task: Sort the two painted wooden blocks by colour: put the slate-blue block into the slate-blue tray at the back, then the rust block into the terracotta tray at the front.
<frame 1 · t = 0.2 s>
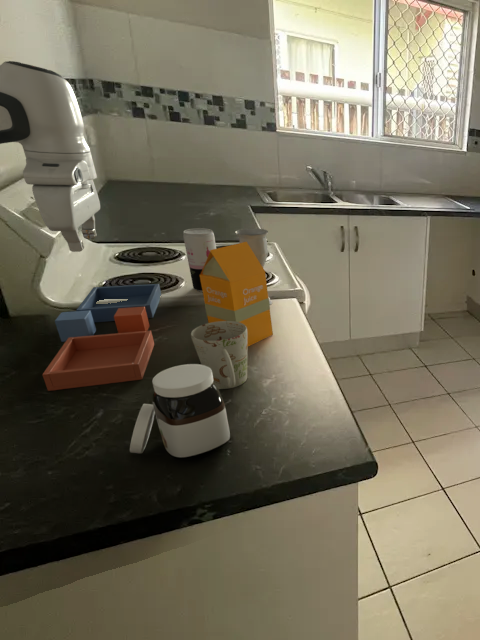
hand: (84, 244, 90), 18 cm above the worktop, tool pointing down, fingers open, 8 cm apart
rust block: (134, 331, 99), on the worktop
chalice: (261, 304, 118), on the worktop
orange juice: (243, 339, 101), on the worktop
spread jar: (182, 448, 69), on the worktop
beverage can: (208, 288, 124), on the worktop
blue block: (79, 336, 95), on the worktop
mug: (231, 386, 84), on the worktop
blue tray: (124, 308, 108), on the worktop
rust tray: (106, 365, 86), on the worktop
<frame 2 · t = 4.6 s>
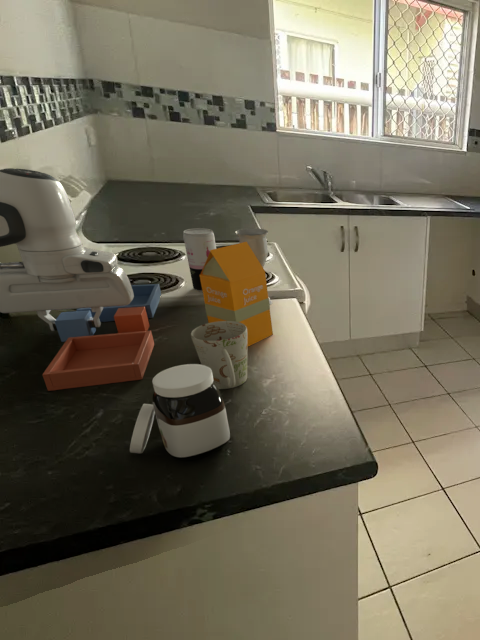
hand: (77, 328, 94), 2 cm above the worktop, tool pointing down, fingers closed on blue block, 4 cm apart
blue block: (79, 336, 95), on the worktop, touching gripper
everything else where it was.
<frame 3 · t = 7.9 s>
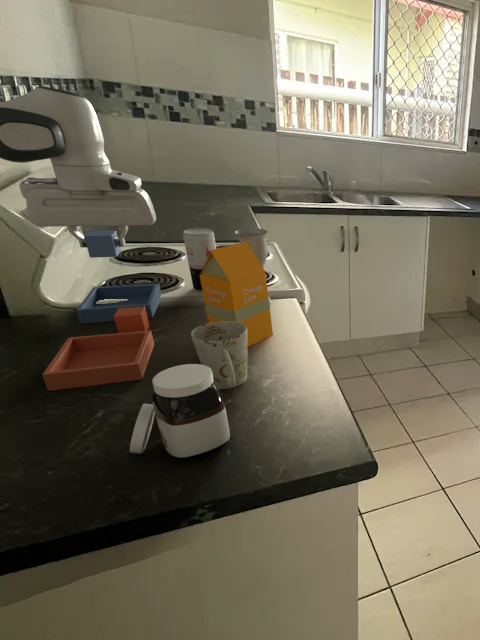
hand: (104, 246, 101), 15 cm above the worktop, tool pointing down, fingers closed on blue block, 4 cm apart
blue block: (106, 254, 102), point 13 cm above the worktop, touching gripper
everything else where it was.
when the fingers open (2 cm above the worktop, at t = 11.1 s): blue block stays where it is, resting on blue tray.
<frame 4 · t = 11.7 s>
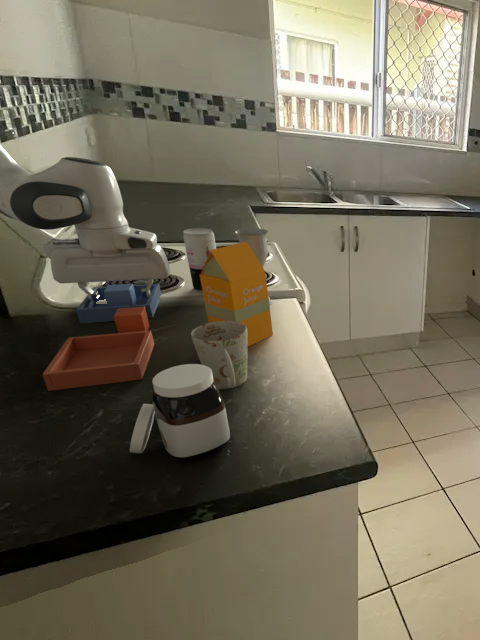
hand: (121, 298, 107), 2 cm above the worktop, tool pointing down, fingers open, 8 cm apart
blue block: (123, 306, 108), point 1 cm above the worktop, touching blue tray
everything else where it was.
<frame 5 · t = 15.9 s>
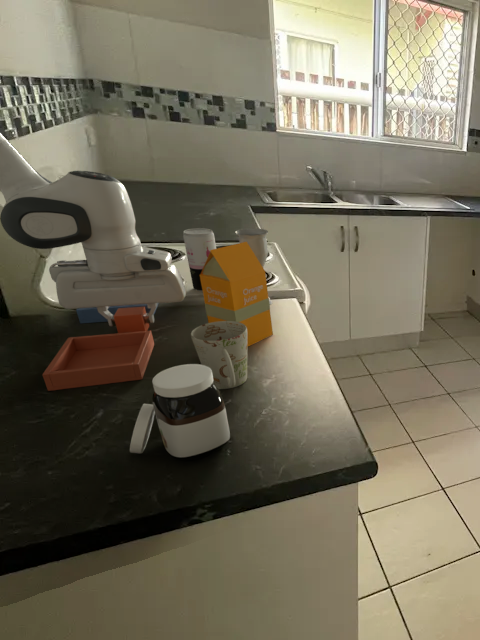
hand: (133, 323, 98), 2 cm above the worktop, tool pointing down, fingers closed on rust block, 4 cm apart
rust block: (134, 331, 99), on the worktop, touching gripper
everything else where it was.
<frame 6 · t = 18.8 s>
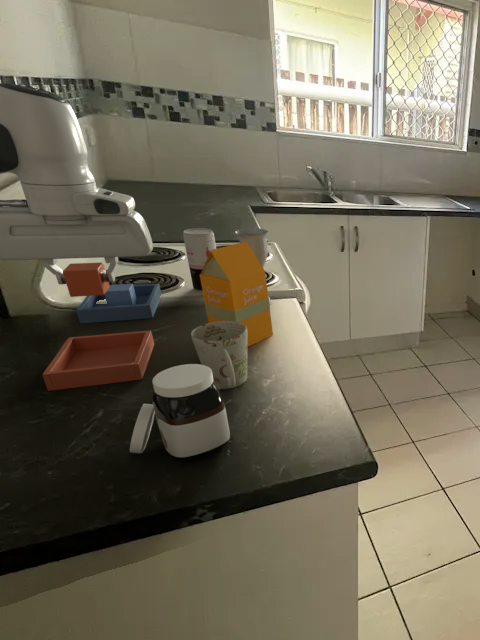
hand: (88, 282, 81), 15 cm above the worktop, tool pointing down, fingers closed on rust block, 4 cm apart
rust block: (90, 291, 82), point 13 cm above the worktop, touching gripper
everything else where it was.
when the fingers open (2 cm above the worktop, at t = 22.2 s): rust block stays where it is, resting on rust tray.
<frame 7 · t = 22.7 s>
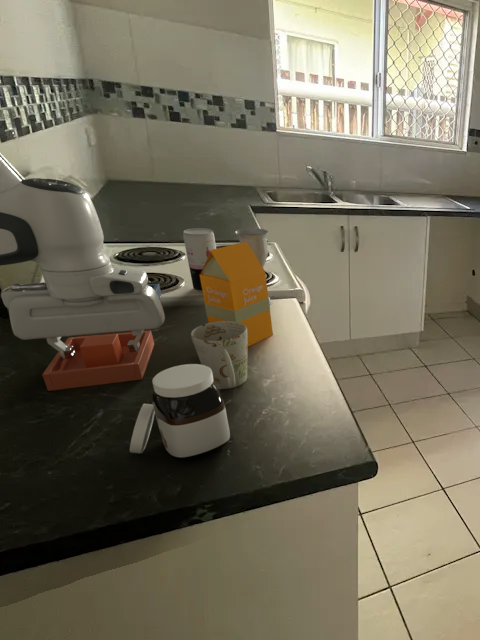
hand: (103, 354, 85), 2 cm above the worktop, tool pointing down, fingers open, 8 cm apart
rust block: (105, 362, 86), point 1 cm above the worktop, touching rust tray
everything else where it was.
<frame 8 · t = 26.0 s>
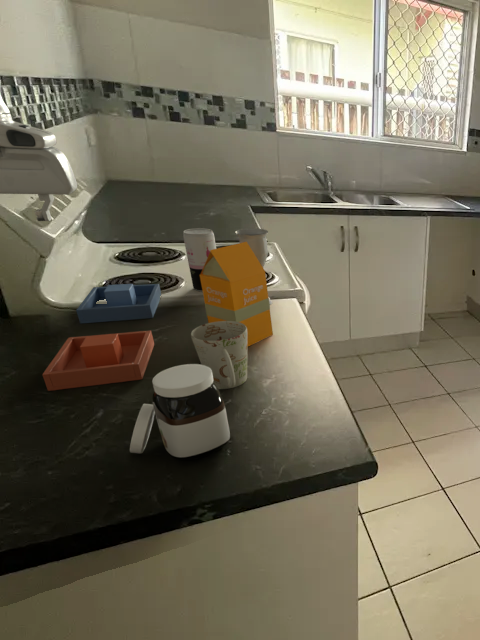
hand: (8, 220, 80), 24 cm above the worktop, tool pointing down, fingers open, 8 cm apart
nothing on the worktop moved.
at the end: blue block inside the target area in the blue tray (0.0 cm from its centre), point 0.6 cm above the blue tray's base; rust block inside the target area in the rust tray (0.0 cm from its centre), point 0.6 cm above the rust tray's base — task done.
